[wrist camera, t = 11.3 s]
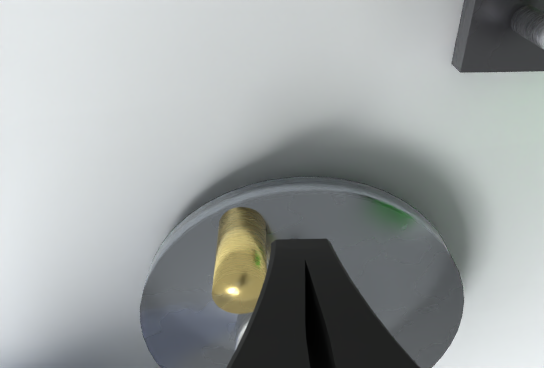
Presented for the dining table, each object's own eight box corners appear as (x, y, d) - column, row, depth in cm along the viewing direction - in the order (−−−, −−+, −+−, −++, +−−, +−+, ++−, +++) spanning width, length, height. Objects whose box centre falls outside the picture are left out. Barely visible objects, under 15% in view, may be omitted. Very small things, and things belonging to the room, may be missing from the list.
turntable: (305, 427, 32) (313, 520, 27) (86, 319, 26) (49, 415, 21) (515, 291, 25) (572, 383, 21) (291, 106, 19) (302, 179, 15)
